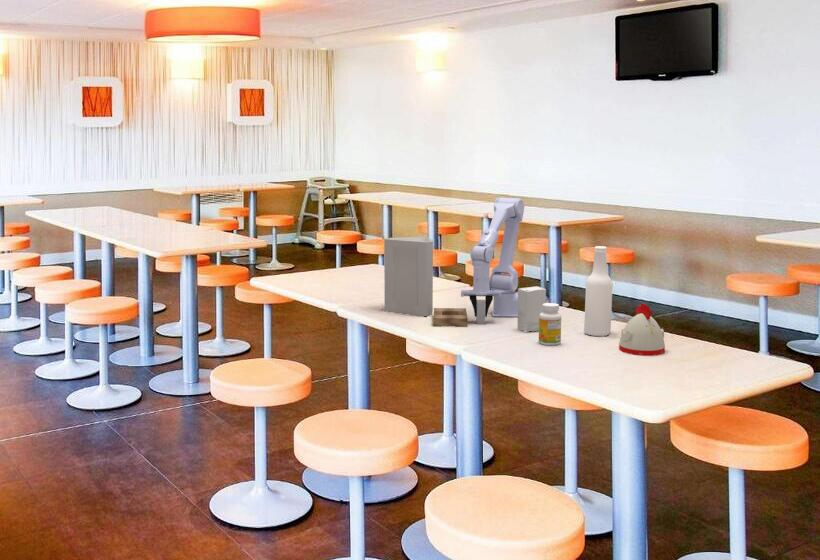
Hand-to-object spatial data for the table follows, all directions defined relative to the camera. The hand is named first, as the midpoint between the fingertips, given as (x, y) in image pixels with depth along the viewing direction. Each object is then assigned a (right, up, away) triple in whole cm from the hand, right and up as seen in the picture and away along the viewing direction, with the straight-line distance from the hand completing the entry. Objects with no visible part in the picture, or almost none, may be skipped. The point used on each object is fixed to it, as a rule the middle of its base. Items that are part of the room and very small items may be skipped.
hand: (480, 316), depth 312 cm
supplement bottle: (+20, -8, -30) cm, 37 cm away
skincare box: (+17, -5, -11) cm, 20 cm away
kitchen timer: (+48, -9, -39) cm, 62 cm away
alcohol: (+38, -6, -17) cm, 42 cm away
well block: (-11, -2, +3) cm, 11 cm away
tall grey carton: (-24, +1, +21) cm, 32 cm away
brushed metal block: (0, -2, 0) cm, 2 cm away
